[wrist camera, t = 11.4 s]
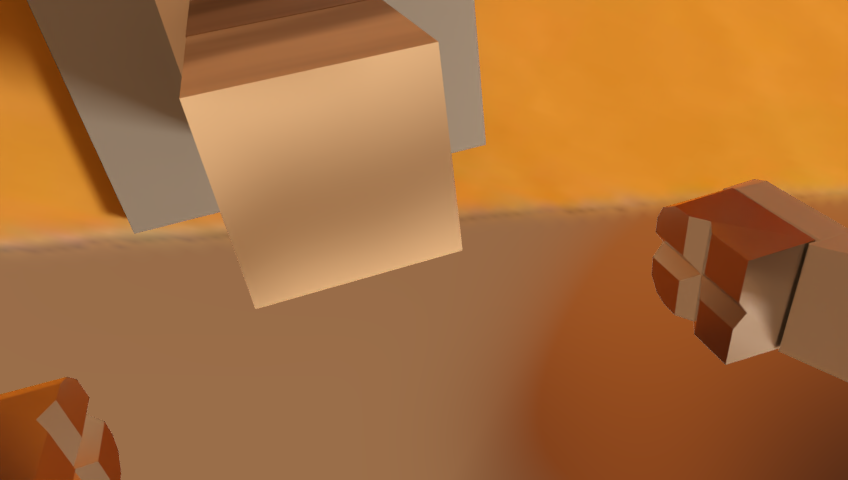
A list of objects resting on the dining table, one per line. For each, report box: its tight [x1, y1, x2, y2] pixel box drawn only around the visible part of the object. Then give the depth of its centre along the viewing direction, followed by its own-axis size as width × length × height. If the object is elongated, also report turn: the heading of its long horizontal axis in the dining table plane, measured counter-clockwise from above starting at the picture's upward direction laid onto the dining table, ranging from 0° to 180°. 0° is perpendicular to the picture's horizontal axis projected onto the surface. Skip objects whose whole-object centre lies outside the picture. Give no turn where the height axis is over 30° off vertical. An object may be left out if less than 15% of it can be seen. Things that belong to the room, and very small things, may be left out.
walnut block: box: [185, 0, 366, 37], centre depth 19 cm, size 5×5×5 cm
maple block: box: [179, 0, 462, 309], centre depth 15 cm, size 5×5×5 cm
